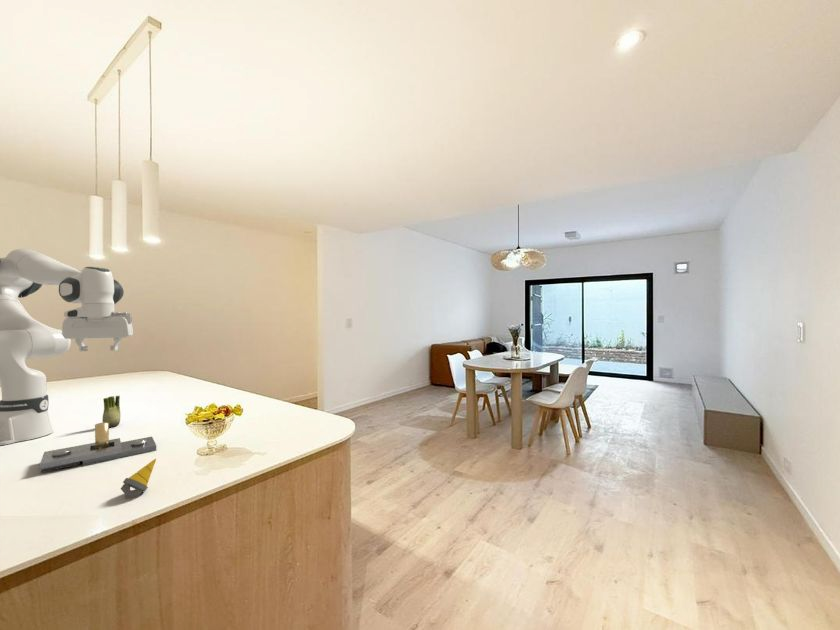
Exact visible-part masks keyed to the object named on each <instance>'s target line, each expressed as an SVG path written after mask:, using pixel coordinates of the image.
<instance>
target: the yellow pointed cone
mask: <svg viewBox="0 0 840 630" xmlns="http://www.w3.org/2000/svg"><path fill="white" fill-rule="evenodd" d="M156 460H157V458H155V459H153V460H152V461H150V462H149V463H148V464H146V465H145V466H144V467H141V468H140V469H139V470H138V471H136V472H135V473H134V474H132V475H131V476H129V477H126V478H125V479H124V480H123V482H122V483H123V485H122V486H121V487H120V490H121V491H122V493H123V495H125V497H124V499H126V500H127V499H131V498H132V499H133V498H137V497H140V495H141V494H142V493H143V492H144V493H145V492H146V491H147V489H148V488H149V487H148V483H149V481H150V478H151V475H152V472H153V470H154V466H155V463H156ZM131 488H132V489H131Z"/></svg>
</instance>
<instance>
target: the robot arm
mask: <svg viewBox="0 0 840 630" xmlns="http://www.w3.org/2000/svg"><path fill="white" fill-rule="evenodd" d="M113 275H114V274H113V273H112V270H110V269H108V268H103V267H99V266H98V267H96V266H85V267H83V268H82V270H80V269H78V268H75V267H73V266H71V265H69V264H65V263H63V262H61V261H59V260H57V259H55V258H52V257H51V256H48V255H47V254H44V253H42V252H39V251H36V250H33V249H29V248H28V249H27V248H17V249H14V250H11V251H10V252H9V253H8V254H6V257H0V389H1V390H0V391H1V400H0V446H5V445H10V444H13V443H18V442H23V441H29V440H33V439H37V438H41V437H45V436H47V435H50V434H51V433H53V432H54V429H53V427H52V425H51V421H50V417H49V411H48V410H49V395H48V394H47V388H48V387H47V375H46V374H45V373H44V372H43V371H40V370H39V369H38V370H37V369H36V368H31V367H28V366H27V363H26V360H34V359H46V358H52V357H56V356H60V355H64V354H65V353H67V352H68V351H69V350H70V347H71V345H72V340H73V339H74V341H75V343H76V345H77V346H78V347H79V348H78V349H79V350H78V351H79V352H87V351H88V348H89V347H88V345H85V344H84V342H85V339H113V341H114V343H113V344H112V345H110V346H109V347H110V348H109V349H110V351H113V352H114V351H119V345H120V344H121V342H122V340H123V338H132V336H133V334H134V329H133V324H132V322H133V315H132V314H130V313H129V312H127V311H122V312H119V311H115V305H116V304H118V303H119V301H121V299H122V298H123V297H124V293H125V292H124V288H123V286H122V285H121V283H120V282H119V281H118V280H116V279H115V278H114V276H113ZM43 285H45V286H47V285H48V286H58V294H59V296H60V297H61V299H62V300H64V301H65V302H67V303H70V304H81V306H80V307H76V308H73V309H70V310H66V311H64V312H63V317H65V318H64V320H63V322H62V328H61V329H59V328H58V329H57V328H54V327H52V326H48V324H47V325H46V324H44V323H42V322H40V321H38V320H37V319H35V318H34V317H32V316H31V315H30V314H29V312H27V310H26V309H25V307H24V305H23V304H22V303H21V302H20V300H19V298H25V297H28V296H29V295H32V294H34V293H36V292H37V291H39V290H40V289H41V288H42V287H43ZM71 339H72V340H71Z"/></svg>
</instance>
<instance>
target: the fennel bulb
mask: <svg viewBox="0 0 840 630" xmlns="http://www.w3.org/2000/svg"><path fill="white" fill-rule="evenodd" d="M120 397H121V396H120V395H115V396H114V395H112V396H108V397H105V398H103V413H102V423H103V422H108V423H109V428H113V427H117V426H119V425H120V422H121V407H120V405H121V404H120V399H121V398H120Z"/></svg>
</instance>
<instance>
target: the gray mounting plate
mask: <svg viewBox="0 0 840 630" xmlns="http://www.w3.org/2000/svg"><path fill="white" fill-rule="evenodd" d="M155 451H157V444H156V442H155V440H154V437H153V436H146V437H142V438H137V439H132V440H131V439H130V440H127V441H121V438H120V437H118V438H113V439H112V438H111V439H109V447H108V448H103V449H98V450H95V442H91V443H90V442H89V443H86V444H80V445H75V446H69V447H64V448H63V447H62V448H59V449H52V450H47V451H44V452H43V455H42V457H41V460H40V463H39V470H40V473H46V472H50V471H55V470H59V469H65V468H68V467H75V466H79V465H81V462H82V466H89V465H93V464H99V463H103V462H107V461H112V460H117V459H122V458H127V457H130V456H135V455H140V454H146V453H150V452H155Z"/></svg>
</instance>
